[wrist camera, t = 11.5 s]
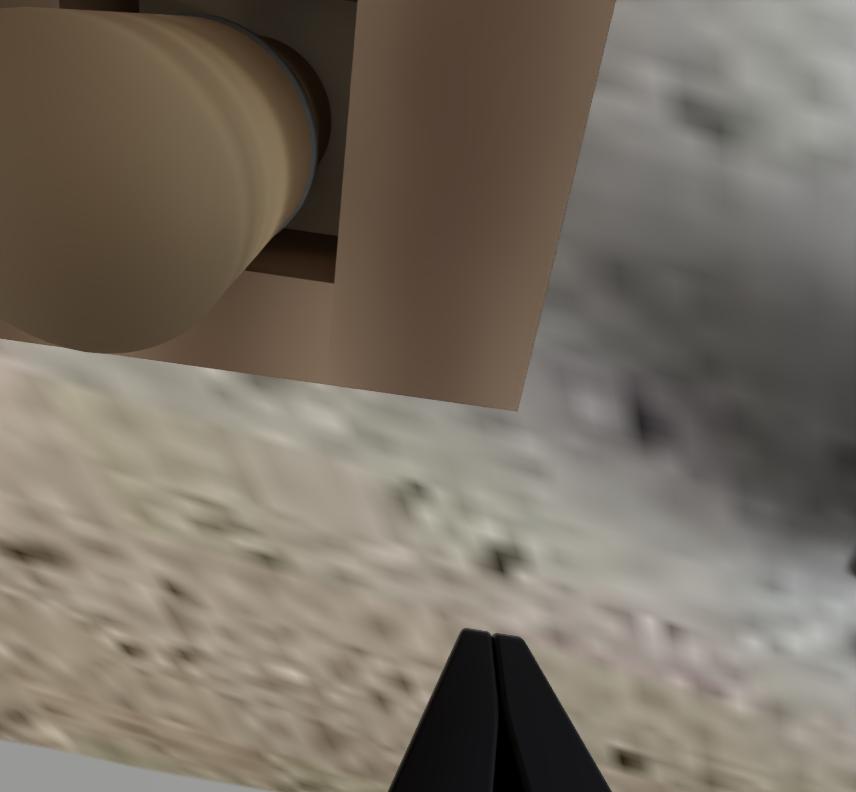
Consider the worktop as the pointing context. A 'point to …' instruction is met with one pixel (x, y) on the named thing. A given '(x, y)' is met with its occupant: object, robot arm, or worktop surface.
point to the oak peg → (143, 168)
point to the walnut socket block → (408, 194)
